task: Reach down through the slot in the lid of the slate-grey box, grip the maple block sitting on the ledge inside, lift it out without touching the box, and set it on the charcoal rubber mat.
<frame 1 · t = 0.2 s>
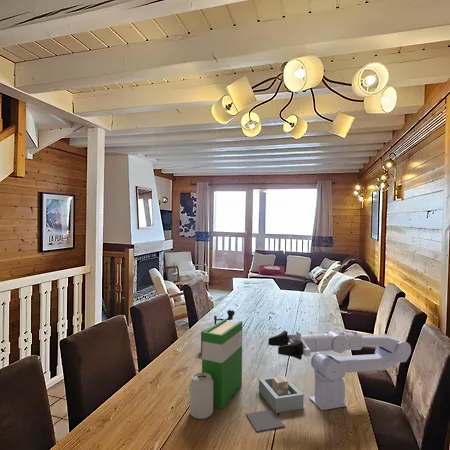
hand: (273, 345, 107), 21 cm above the table, tool horizontal, fingers open, 7 cm apart
coffee grinder: (218, 348, 161), on the table
can: (201, 414, 105), on the table
mat: (264, 420, 101), on the table
block: (280, 390, 114), point 3 cm above the table, touching slot box
hardback book: (222, 394, 117), on the table
slot box: (280, 399, 114), on the table
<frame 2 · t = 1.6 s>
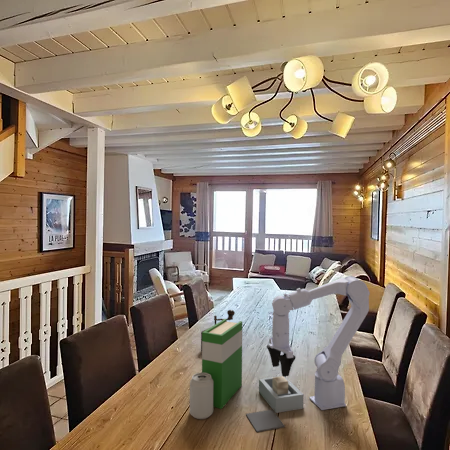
hand: (280, 370, 114), 10 cm above the table, tool pointing down, fingers open, 7 cm apart
nothing on the table moved.
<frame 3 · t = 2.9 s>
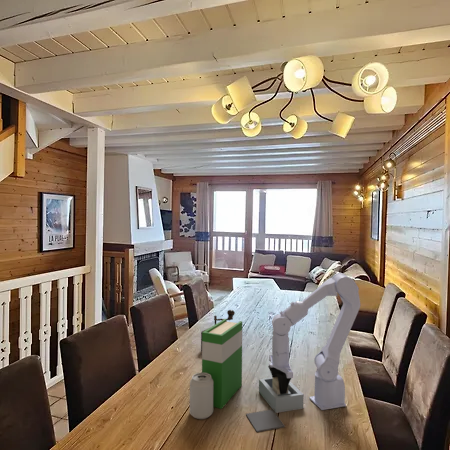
hand: (280, 389, 114), 3 cm above the table, tool pointing down, fingers closed on block, 4 cm apart
block: (280, 390, 114), point 3 cm above the table, touching gripper, slot box
everything else where it was.
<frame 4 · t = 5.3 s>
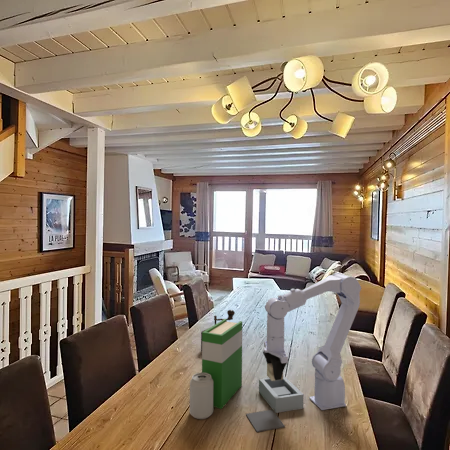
hand: (274, 376, 109), 10 cm above the table, tool pointing down, fingers closed on block, 4 cm apart
block: (274, 377, 109), point 10 cm above the table, touching gripper
everything else where it was.
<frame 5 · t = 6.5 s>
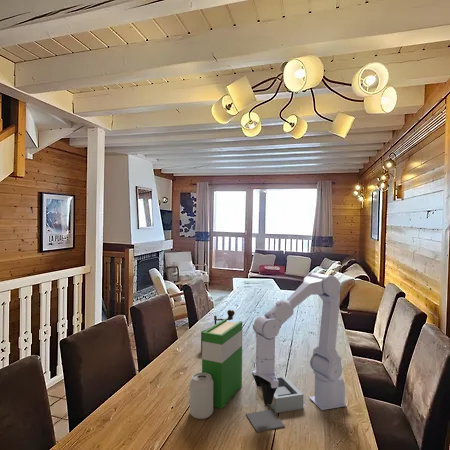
hand: (265, 400, 101), 6 cm above the table, tool pointing down, fingers closed on block, 4 cm apart
block: (264, 401, 101), point 6 cm above the table, touching gripper
everything else where it was.
when the fingers open (2 cm above the table, at t = 7.6 s): block drops 2 cm, resting on mat.
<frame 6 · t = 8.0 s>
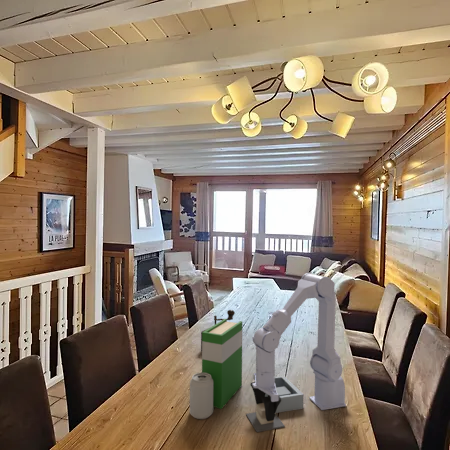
hand: (264, 413, 101), 2 cm above the table, tool pointing down, fingers open, 7 cm apart
block: (264, 419, 101), resting on mat
everything else where it was.
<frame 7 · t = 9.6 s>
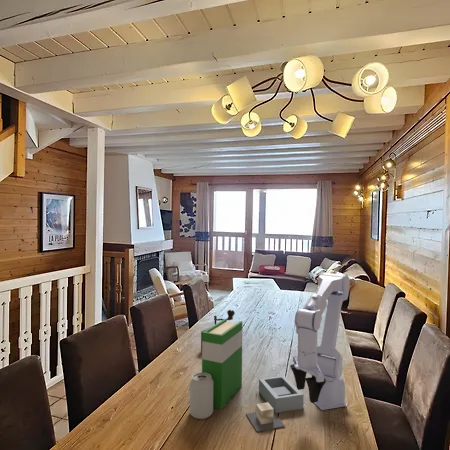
hand: (307, 395, 99), 9 cm above the table, tool pointing down, fingers open, 7 cm apart
nothing on the table moved.
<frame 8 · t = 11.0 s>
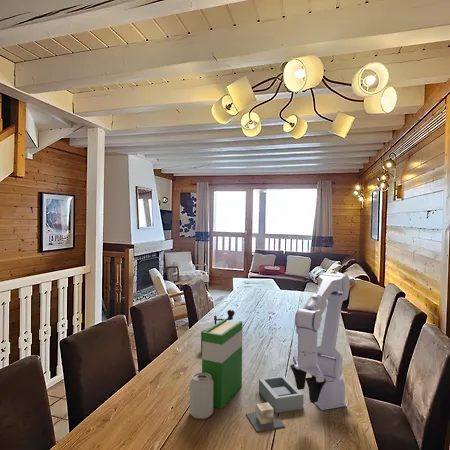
hand: (307, 395, 99), 9 cm above the table, tool pointing down, fingers open, 7 cm apart
nothing on the table moved.
at the end: block inside the target area on the mat (0.1 cm from its centre), point 0.4 cm above the mat's base; block tilted 0°; the gripper is holding nothing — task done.
